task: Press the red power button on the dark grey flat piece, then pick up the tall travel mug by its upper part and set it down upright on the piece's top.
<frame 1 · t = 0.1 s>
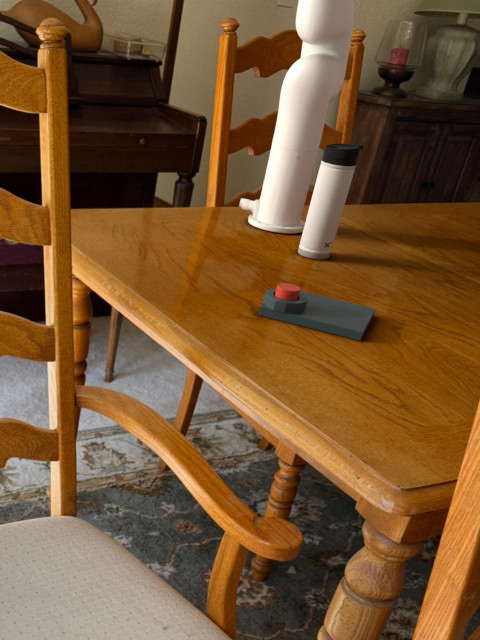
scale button: (287, 292, 114), point 4 cm above the table, slide at 0.1 cm
travel mug: (313, 256, 144), on the table
dark grey flat piece: (316, 316, 116), on the table
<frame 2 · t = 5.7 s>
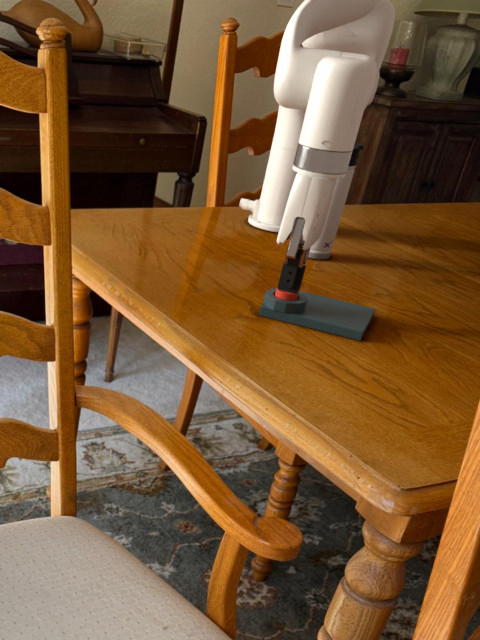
hand: (288, 290, 113), 4 cm above the table, tool pointing down, fingers closed
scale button: (286, 295, 114), point 3 cm above the table, slide at -0.3 cm, touching gripper
everything else where it was.
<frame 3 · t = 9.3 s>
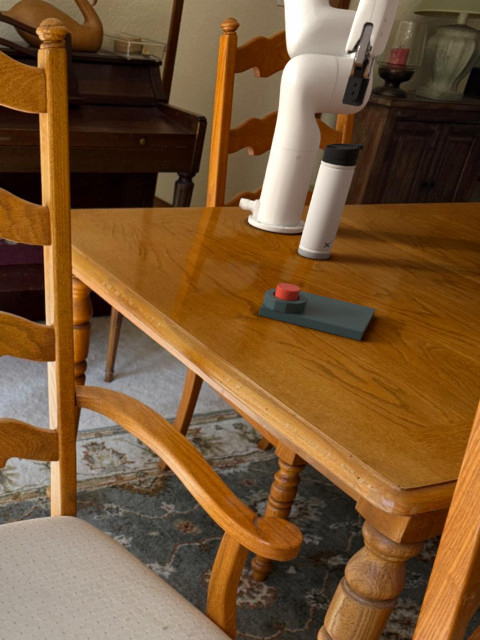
hand: (351, 104, 124), 26 cm above the table, tool pointing down, fingers closed
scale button: (287, 292, 114), point 4 cm above the table, slide at 0.1 cm
everything else where it was.
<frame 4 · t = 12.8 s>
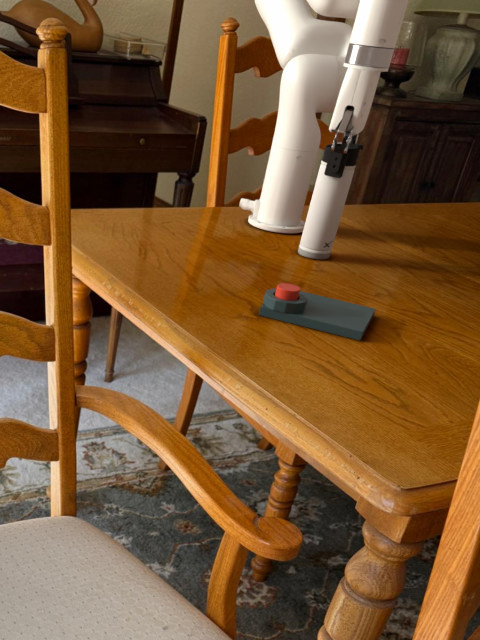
hand: (336, 172, 134), 15 cm above the table, tool pointing down, fingers closed on travel mug, 6 cm apart
travel mug: (313, 256, 144), on the table, touching gripper
everything else where it was.
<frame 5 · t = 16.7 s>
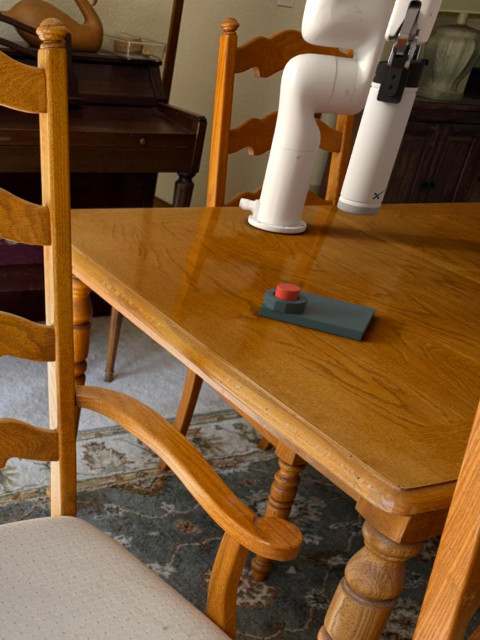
hand: (391, 98, 102), 30 cm above the table, tool pointing down, fingers closed on travel mug, 6 cm apart
travel mug: (358, 212, 112), point 15 cm above the table, touching gripper
everything else where it was.
when the fingers open (16 cm above the table, at t = 20.9 s): travel mug stays where it is, resting on dark grey flat piece.
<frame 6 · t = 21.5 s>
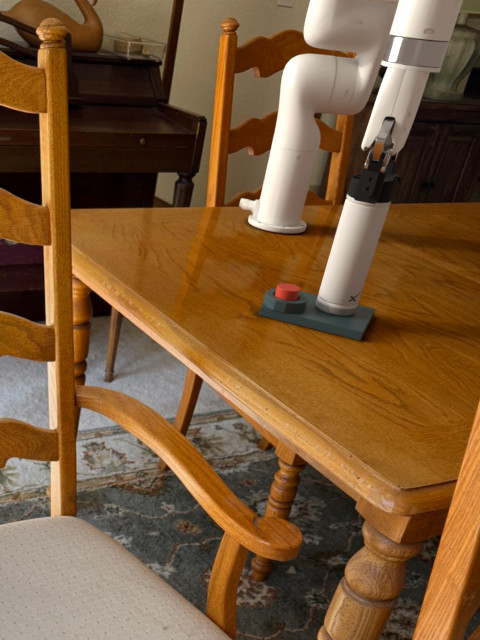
hand: (370, 195, 105), 18 cm above the table, tool pointing down, fingers open, 9 cm apart
travel mug: (335, 310, 116), point 1 cm above the table, touching dark grey flat piece
everything else where it was.
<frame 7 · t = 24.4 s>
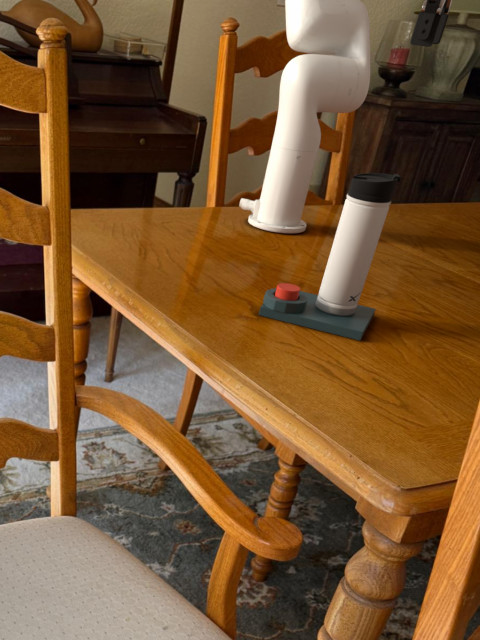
hand: (424, 44, 114), 36 cm above the table, tool pointing down, fingers open, 9 cm apart
nothing on the table moved.
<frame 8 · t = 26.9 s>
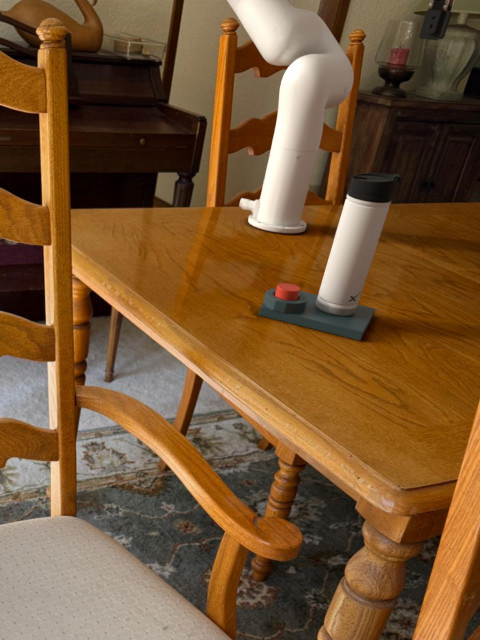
hand: (431, 38, 127), 36 cm above the table, tool pointing down, fingers open, 9 cm apart
nothing on the table moved.
at the end: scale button pushed in 0.9 cm at the most during the clip, back to where it started at the end; travel mug inside the target area on the dark grey flat piece (0.7 cm from its centre), point 1.2 cm above the dark grey flat piece's base; travel mug touching dark grey flat piece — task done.
